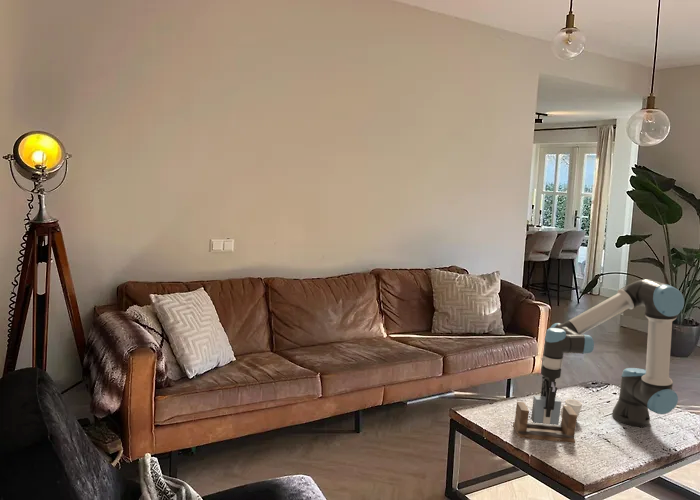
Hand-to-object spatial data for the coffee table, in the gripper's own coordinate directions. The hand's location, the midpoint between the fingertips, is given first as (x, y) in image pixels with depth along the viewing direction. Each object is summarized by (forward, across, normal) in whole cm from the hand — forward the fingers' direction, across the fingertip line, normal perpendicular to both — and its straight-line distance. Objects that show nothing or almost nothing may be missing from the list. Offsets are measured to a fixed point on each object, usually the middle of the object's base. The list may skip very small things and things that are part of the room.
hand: (544, 420), depth 240 cm
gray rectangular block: (0, 0, 0) cm, 0 cm away
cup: (+6, -16, +15) cm, 23 cm away
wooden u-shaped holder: (+6, 0, 0) cm, 6 cm away
